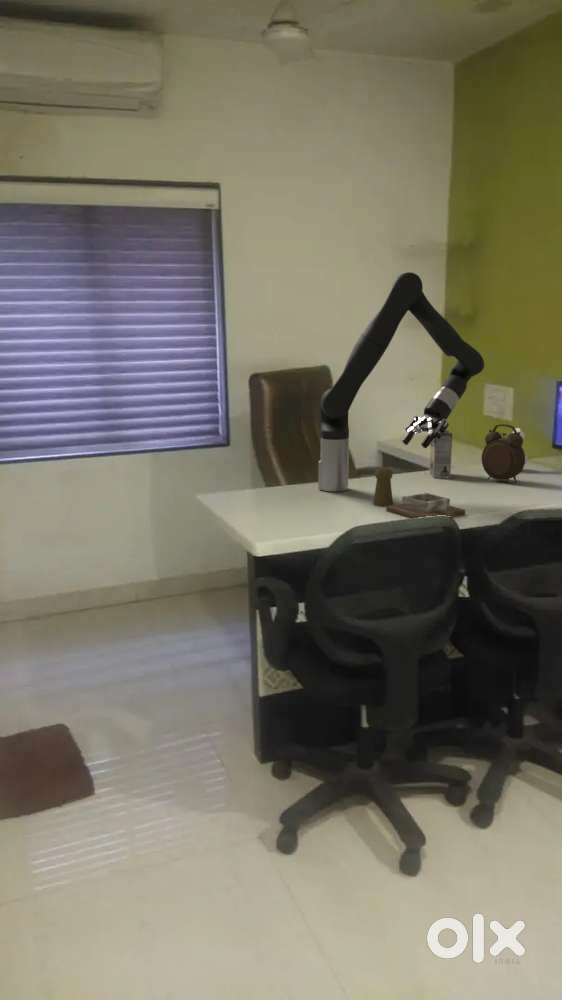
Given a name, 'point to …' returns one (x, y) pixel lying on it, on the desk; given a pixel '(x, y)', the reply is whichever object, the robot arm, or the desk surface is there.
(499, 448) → the alarm clock
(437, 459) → the coffee box
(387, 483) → the cork
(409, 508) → the mount board
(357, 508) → the desk surface
